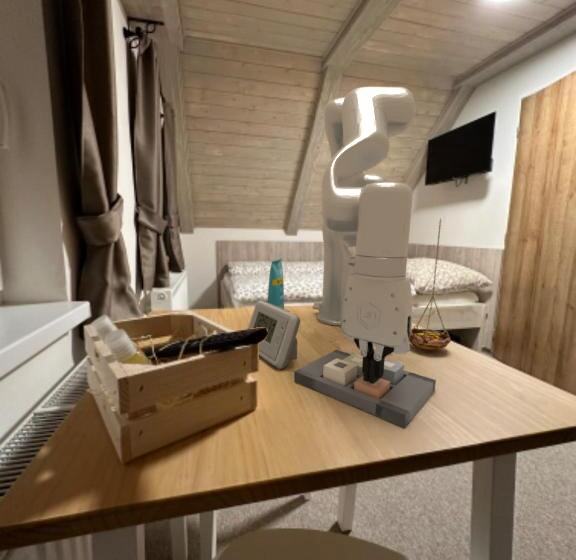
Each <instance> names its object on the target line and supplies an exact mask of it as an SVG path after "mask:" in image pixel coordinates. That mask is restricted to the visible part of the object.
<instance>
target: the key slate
mask: <svg viewBox="0 0 576 560" xmlns="http://www.w3.org/2000/svg"><path fill="white" fill-rule="evenodd" d="M404 370H405V364H404V363H402V362H398V361H396V360H395V361H394V360H391V359H388V358H385V361H384V373H383V376H382V378H381V379H384V380H387V381H390V384H393V385H396V384H397V383H398V382H399V381H400V380H401V379H402V378H403V375H404Z"/></svg>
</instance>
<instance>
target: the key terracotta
mask: <svg viewBox="0 0 576 560" xmlns="http://www.w3.org/2000/svg"><path fill="white" fill-rule="evenodd" d="M354 390H356V391H359V392H361V393H364V394H367V395H369V396H372V397H374V398H377V399H380V400H381V399H382V398H383V397H384V396H385V395H386V394H387V393H388V392H389V390H390V381H387V380H384V379H381V378H380V379H379V380H377V381H376V382H375V383H374V384H372V383H370V382H369V381H367V382H366V381H364V380H363V376H362V377H361V378H360V379H358V380H357V381H355V382H354Z"/></svg>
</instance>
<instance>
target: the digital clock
mask: <svg viewBox="0 0 576 560" xmlns="http://www.w3.org/2000/svg"><path fill="white" fill-rule="evenodd" d="M300 324H301V318H300V317H299V316H298V315H297V314H294V313H292V312H291V311H289V310H288V309H285V308H284V309H282V308H280V307H278V306H275V305H273V304H270V303H269V304H268V303H267V302H265V301H264V300H259V301H257V302H256V303H255V305H254V309H253V312H252V315H251V318H250V321H249V324H248V327H247V330H248V329H251V328H256V327H266V328H267V329H268V336H267V338H266V339H265V340H264V341H263V342H261V343H260V344H259V355H258V356H259V357H261V358H262V359H263V360H265V361H266V362H267V363H269V364H270V365H271V366H274V367H275V368H277V369H279V370H282V369H285V368H286V366H288V365H287V364H288V361H292V360H296V359H297V358H298V339H297V334H298V331H299V328H300V326H301V325H300Z"/></svg>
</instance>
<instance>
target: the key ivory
mask: <svg viewBox="0 0 576 560" xmlns="http://www.w3.org/2000/svg"><path fill="white" fill-rule="evenodd" d="M323 378H325V379H327V380H330V381H333V382H335V383H338V384H340V385H343V386H347V385H348V384H349V383H351V382H352V381H354V380H355V379H356V378H357V365H356V364H353V363H350V362H347V361H344V360H341V359H337V358H336V359H334V360H333V361H331V362H329V363H327V364H325V365H324V370H323Z"/></svg>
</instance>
